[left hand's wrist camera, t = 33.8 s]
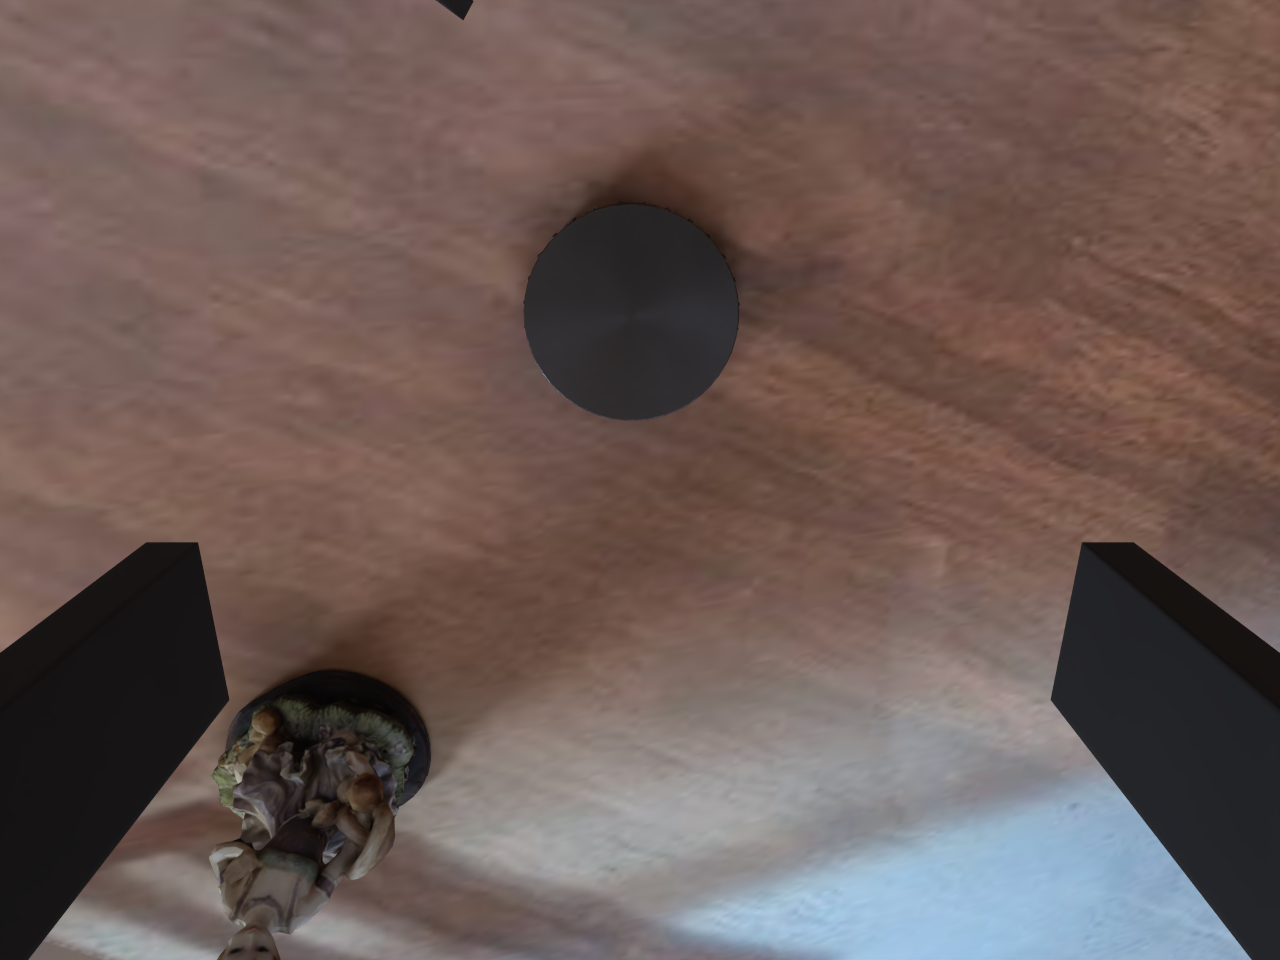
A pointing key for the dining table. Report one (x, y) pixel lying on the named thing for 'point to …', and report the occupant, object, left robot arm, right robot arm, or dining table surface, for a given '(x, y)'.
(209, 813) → the dining table surface
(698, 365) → the lid
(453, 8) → the right robot arm
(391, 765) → the figurine
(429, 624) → the dining table surface
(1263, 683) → the left robot arm
